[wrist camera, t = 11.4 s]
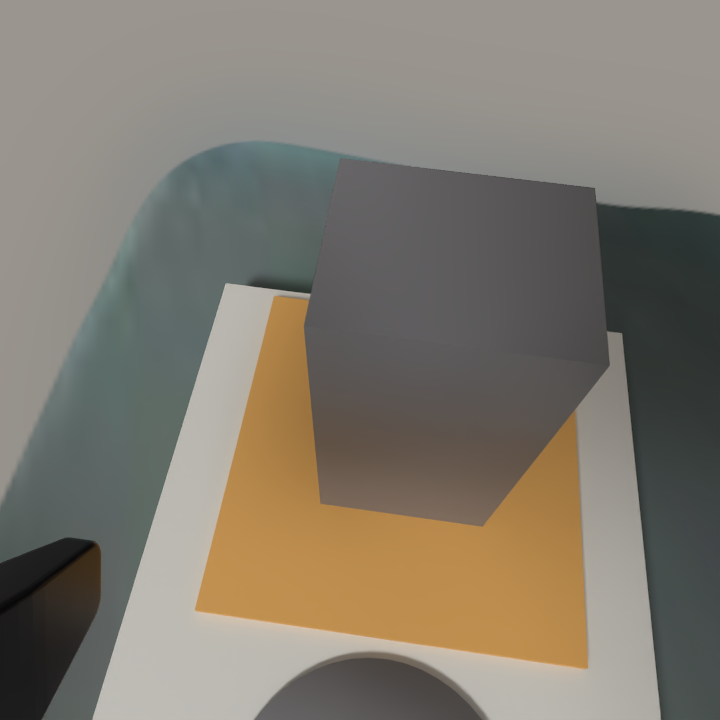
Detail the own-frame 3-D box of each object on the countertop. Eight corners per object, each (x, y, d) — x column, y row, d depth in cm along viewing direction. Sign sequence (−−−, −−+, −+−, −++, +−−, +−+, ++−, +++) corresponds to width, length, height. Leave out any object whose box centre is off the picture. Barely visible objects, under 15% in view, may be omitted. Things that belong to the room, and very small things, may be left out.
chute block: (482, 526, 18) (610, 365, 10) (320, 503, 19) (304, 325, 10) (486, 408, 20) (594, 188, 12) (340, 389, 21) (340, 158, 12)
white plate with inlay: (669, 1100, 14) (710, 1150, 12) (32, 987, 14) (-6, 1021, 13) (606, 353, 24) (625, 328, 22) (231, 305, 24) (224, 278, 23)
